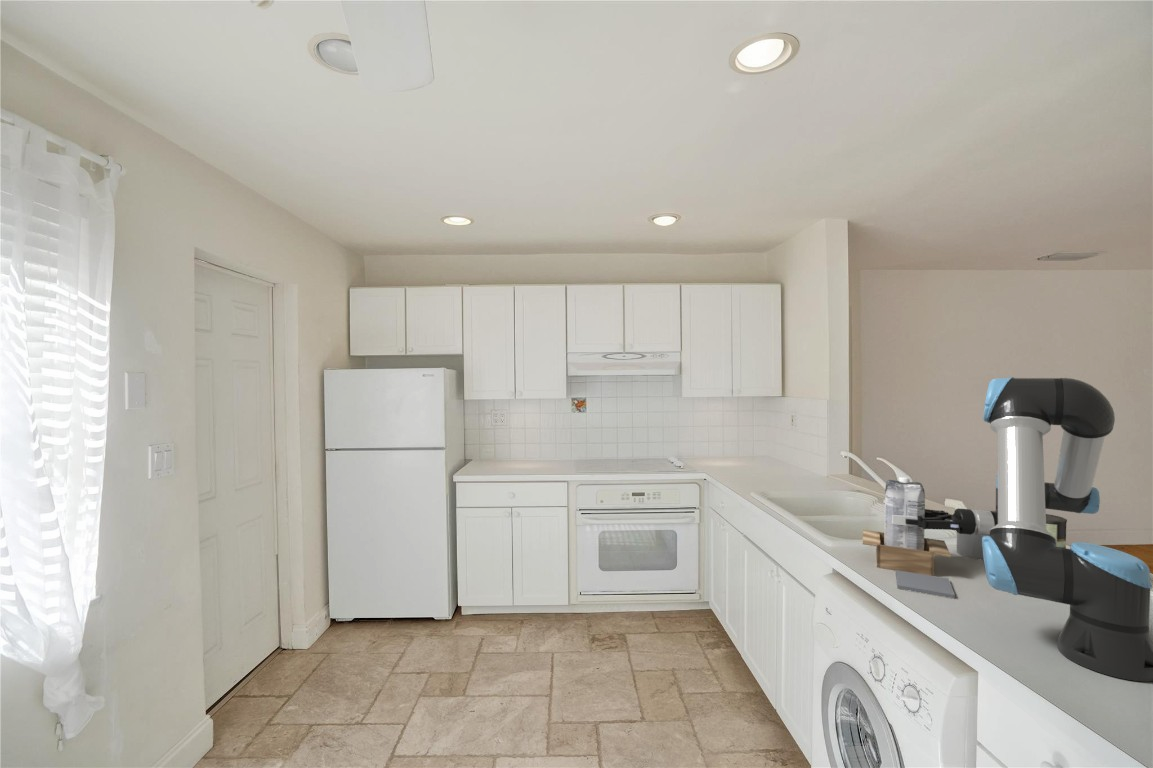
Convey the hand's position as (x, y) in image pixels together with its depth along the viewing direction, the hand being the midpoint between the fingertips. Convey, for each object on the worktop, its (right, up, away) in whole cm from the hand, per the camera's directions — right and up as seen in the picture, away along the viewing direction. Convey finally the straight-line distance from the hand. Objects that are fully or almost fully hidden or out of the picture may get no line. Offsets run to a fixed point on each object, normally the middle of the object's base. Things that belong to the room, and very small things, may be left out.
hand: (888, 515), depth 167 cm
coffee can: (+52, -15, +3) cm, 54 cm away
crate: (+4, -15, -1) cm, 16 cm away
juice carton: (+4, -15, -1) cm, 16 cm away
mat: (-1, -15, -18) cm, 24 cm away
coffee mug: (+35, -15, +7) cm, 39 cm away
